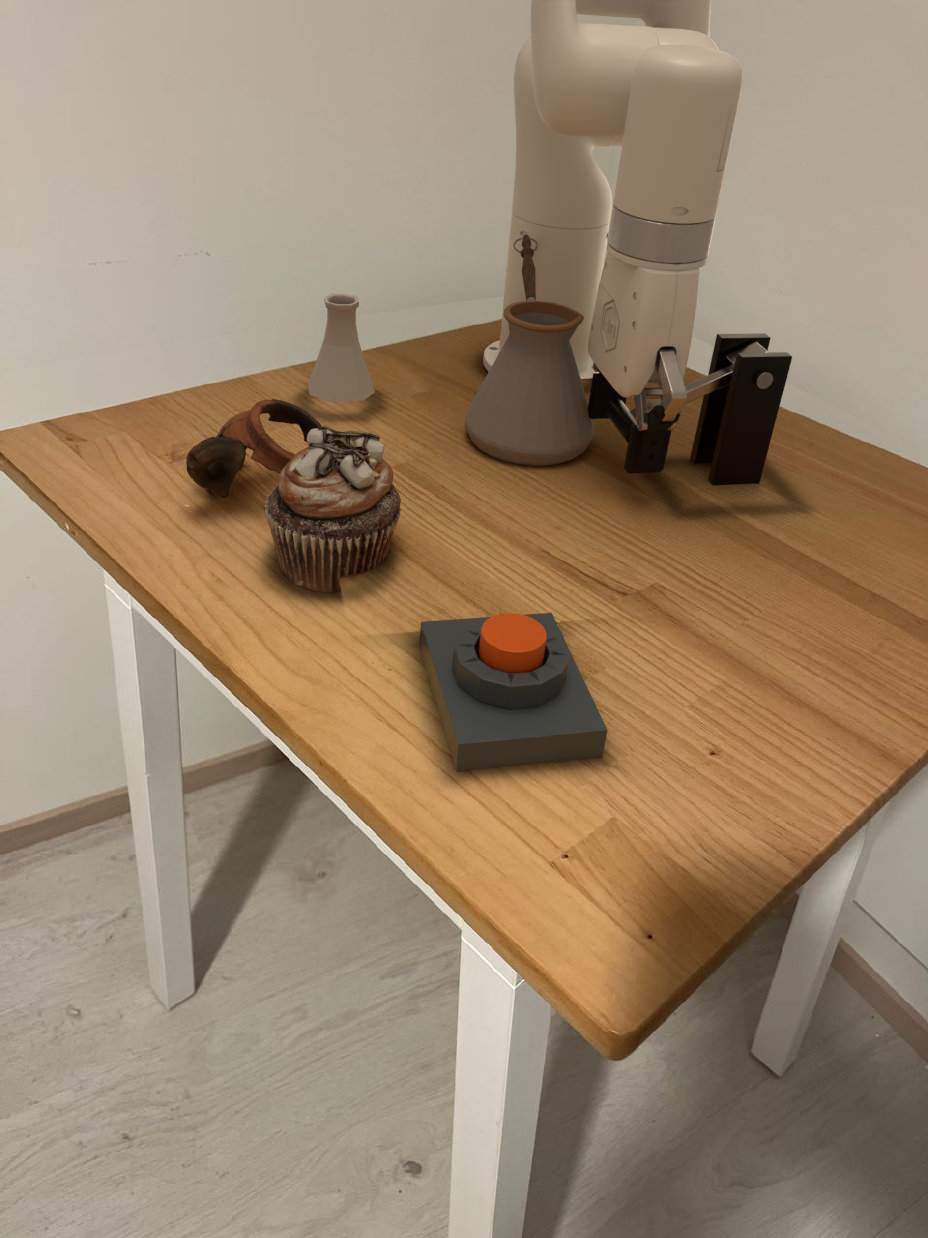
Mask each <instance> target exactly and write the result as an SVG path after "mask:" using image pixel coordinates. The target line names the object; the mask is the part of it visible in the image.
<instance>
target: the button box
mask: <svg viewBox="0 0 928 1238" xmlns="http://www.w3.org/2000/svg"><path fill="white" fill-rule="evenodd" d="M524 615H525V616H528V617H531V618H533V619H535V620H536V621H538V622H539V623H540V624H541V625H542V626H543V627H544V628H545V630H546V633H547V639H546V646H545V653H544V659H543V662H542V664H541V665H540V666H539V667H538V668H537V669H536V670H534V671H532V672H526V673H514V674H510V673H506V672H502V671H498V670H494V669H492V668H490V667H489V666H487V665H486V664H485V663H483V661H482V660H481V658H480V655H479V645H480V635H481V627H482V625H483V624H484V622H485V621H486V620H487V619H489V618H491V617H492V616H484V617H483V616H482V617H470V618H469V617H468V618H456V619H454V618H453V619H440V620H428V621H427V620H425V621H421V622H420V627H419V628H420V631H419V647H418V648H419V651H420V655H421V659H422V662H423V665H424V669H425V672H426V676H427V678H428V682H429V686H430V690H431V693H432V695H433V699H434V703H435V706H436V709H437V712H438V716H439V719H440V723H441V725H442V726H441V727H442V729H443V732H444V736H445V739H446V743H447V746H448V750H449V753H450V756H451V760H452V763H453V766H454V767H453V768H454V770H455V772H466V771H476V770H486V769H496V768H497V769H498V768H506V767H507V768H508V767H516V766H528V765H535V764H536V765H537V764H546V763H547V764H548V763H556V762H557V763H559V762H567V761H577V760H586V759H595V758H596V759H597V758H603V756H604V750H605V746H606V740H607V736H608V728H607V725H606V724H605V722H604V720H603V718H602V715H601V713H600V711H599V709H598V707H597V705H596V703H595V701H594V698H593V696H592V694H591V692H590V690H589V688H588V686H587V684H586V682H585V680H584V677H583V675H582V673H581V671H580V669H579V667H578V666H577V663H576V660H575V658H574V657H573V654H572V652H571V651H570V648H569V646H568V644H567V642H566V640H565V638H564V636H563V634H562V632H561V628H560V627H559V625H558V623H557V621H556V619H555V616H554V614H553V613H552V612H544V613H527V614H524Z"/></svg>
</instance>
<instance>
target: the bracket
mask: <svg viewBox="0 0 928 1238" xmlns="http://www.w3.org/2000/svg"><path fill="white" fill-rule="evenodd" d="M755 342H758V343H759V344H760V345H761V346H762V347H763V348H764V349H765V350H767V351H768V352H766V353H737V356H736V360H735V364H734V369H733V373H732V378H731V382H730V384H729V385H726V386H724V387H722V388H720V389H718V390H715V391H713V392H711V393H709V394H706V395H704V396H702V401H701V406H700V410H699V415H698V421H697V425H696V430H695V434H694V439H693V443H692V448H691V453H690V460H691V461H692V463H693V464H711V466H710V469H709V474H708V478H707V481H708V482H709V484H710V485H711V486H732V485H756V484H760V483H761V479H762V475H763V472H764V467H765V464H766V460H767V457H768V452H769V448H770V444H771V441H772V437H773V433H774V429H775V425H776V422H777V418H778V414H779V410H780V406H781V402H782V398H783V395H784V391H785V387H786V383H787V379H788V375H789V371H790V367H791V364H792V361H793V355H791V354H790V353H789V352H787V351H785V352H784V351H776V352H774V351H773V352H769V345H770V342H771V337H770V336H769V335H768V334H767V333H765V332H763V333H762V332H761V333H760V332H759V333H716V336H715V341H714V346H713V350H712V355H711V359H710V365H709V369H708V373H707V376H708V375H710V374H712V373H715V372H717V371H719V370H721V369H723V368H726V367H728V365H727V360H726V355H728V354H730V353H733V352H735V351H737V350H739V349H741V348H744V347H746V346H748V345H750V344H752V343H755Z"/></svg>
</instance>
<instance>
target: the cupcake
mask: <svg viewBox="0 0 928 1238" xmlns="http://www.w3.org/2000/svg"><path fill="white" fill-rule="evenodd" d="M380 439H381V437H380V436H379V435H377V434H375V433H372V432H366V431H357V430H347V431H339V430H335V429H333V428H331V427H329V426H327V425H322V426H321V427H320V428H319V429H315V428H314V429H312V430H310V432H309V433H308V436H307V442H306V444H307V445H308V446H307V447H305V448H303V449H302V450H299V451H298V452H297V453H295V456H293V457H292V458H291V460H290V462H288V463H287V465H286V466H285V467H284V468H283V470H282V471H281V473H280V474H278V475H279V476H278V481H277V486H275V488H274V489H273V490H272V491H271V492H270V494H267V499H265V501H266V503H264V504H263V505H264V508H265V509H264V513H265V518H266V520H267V523H268V527H269V529H270V533H271V537H272V542H273V545H274V549H275V553H276V556H277V561H278V565H279V569H280V572H281V573H282V575H283V576H285V578H286V579H287V580H288V581H289V582H292V583H293V584H294V585H295V586H296V585H297V586H298V587H302V588H306V589H307V590H311V591H315V592H322V593H333V592H338V593H340V592H341V593H342V588H341V587H342V586H341V583H340V580H339V579H340V578H341V577H345V578H348V577H349V576H356V575H357V574H361V575H362V574H364V573H365V572H370V569H375V568H376V566H378V565H380V564H381V563H382V562H384V559H386V558H387V557H388V553H389V551H390V550H389V549H390V546H391V543H392V540H393V535H394V533H395V531H396V528H397V526H398V524H399V523H398V522H399V521H400V517H401V503H402V499H401V496H400V493H399V491H398V490H397V489H396V487H395V485H394V483H393V481H394V470H393V468H392V466H391V465H390V464H389V463H388V462H387V460H385V458H383V456H384V452H385V445H384V444H383V443H382V442H381V441H380Z"/></svg>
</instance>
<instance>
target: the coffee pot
mask: <svg viewBox="0 0 928 1238" xmlns="http://www.w3.org/2000/svg"><path fill="white" fill-rule="evenodd" d="M519 240H522V247H523V249H522V250H521V251H519V250H518V249H516V248H515V244H516V242H517V241H519ZM531 240H533V241H534V242H536V245H537V241H536V240H534V239H533V238H530V237H529V236H528V235H524V236H523V237H522V238H519V239H517V240H516V241H515V242H514V249H515V250H516V251H517V252H519V253H521V256H522V258H523V265H522V276H523V283H524V290H525V296H526V301H522V302H516V303H513V304H510V305H508V306H507V307H506V308H505V309H504V313H503V312H502V313H503V315H504V317H505V319H506V320H507V321H508V325H509V333H510V334H509V336H508V338H507V340H506V342H505V343H504V345H503V347H502V349H501V351H500V352H499V354H498V356H497V358H496V360H495V361H494V363H493V365H492V367H491V369H490V371H489V372H488V371H487V372H488V373H487V374H486V376H485V378H484V379H483V381H482V383H481V385H480V386H479V389H478V390H477V392H476V394H475V396H474V397H473V400H471V403H470V405H469V407H468V409H467V411H466V413H465V417H464V426H465V428H466V431H467V434H468V436H469V439H470V441H471V442H472V443H473V444H474V445H475V446H476V447H477V448H478V449H479V450H480V451H481V452H483V453H485V454H486V455H488V456H490V457H492V458H495V459H498V460H500V461H503V462H507V463H510V464H511V463H512V464H515V465H522V466H532V467H538V466H539V467H541V466H542V467H543V466H553V465H560V464H563V463H567V462H570V461H573V460H574V459H576V458H577V457H579V456H580V455H582V454H583V453H584V452H585V451H586V450H587V448H588V446H590V443H591V442H592V441H593V438H594V436H595V426H594V419H591V418H589V413H588V403H589V402H588V401H587V397H586V393H585V389H584V386H583V382H582V379H580V375H579V372H578V368H577V365H576V361H575V358H574V354H573V351H572V347H571V344H570V339H571V337H572V335H573V334H574V332H575V330H576V329H577V327H578V326H579V325H580V324H581V323H582V321H583V320H584V316H583V315H581V314H580V313H579V312H577V311H575V310H573V309H571V308H569V307H567V306H564V305H560V304H557V303H551V302H545V301H536V270H535V266H534V263H533V259H532V257H533V255H534V251H536V249H537V247H538V245H537V246H536V247H535V249H534V250H533V249H532V248H530V247H531Z"/></svg>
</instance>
